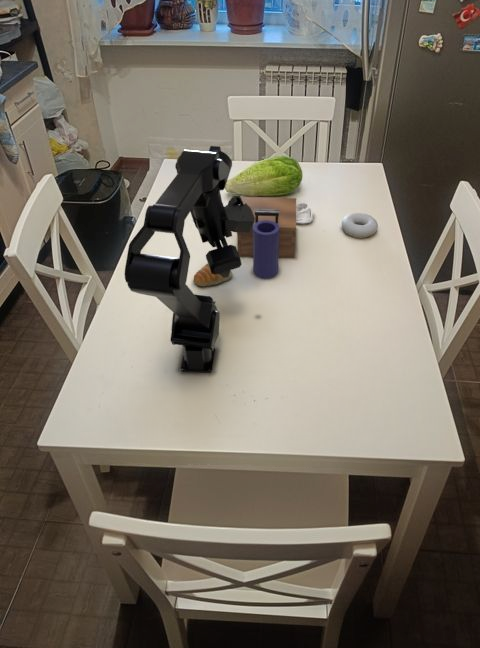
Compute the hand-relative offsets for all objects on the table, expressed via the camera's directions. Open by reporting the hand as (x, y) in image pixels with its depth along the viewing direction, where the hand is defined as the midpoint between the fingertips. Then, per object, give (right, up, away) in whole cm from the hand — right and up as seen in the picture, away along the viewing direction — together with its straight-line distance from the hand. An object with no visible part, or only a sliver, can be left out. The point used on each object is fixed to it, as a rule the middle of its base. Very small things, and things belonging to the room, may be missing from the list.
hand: (220, 261), depth 110 cm
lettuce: (+9, +27, +49) cm, 56 cm away
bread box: (+10, +8, +28) cm, 31 cm away
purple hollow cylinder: (+10, -1, +18) cm, 21 cm away
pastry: (-3, -2, +16) cm, 17 cm away
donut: (+36, +12, +33) cm, 50 cm away
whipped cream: (+20, +16, +37) cm, 45 cm away
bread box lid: (+10, +15, +22) cm, 28 cm away
